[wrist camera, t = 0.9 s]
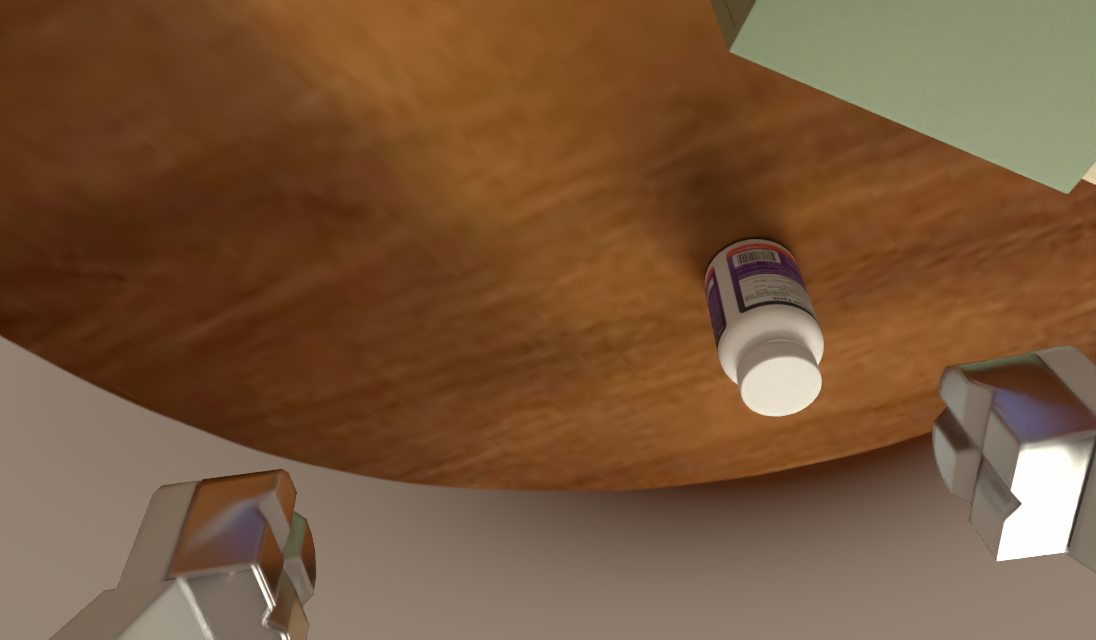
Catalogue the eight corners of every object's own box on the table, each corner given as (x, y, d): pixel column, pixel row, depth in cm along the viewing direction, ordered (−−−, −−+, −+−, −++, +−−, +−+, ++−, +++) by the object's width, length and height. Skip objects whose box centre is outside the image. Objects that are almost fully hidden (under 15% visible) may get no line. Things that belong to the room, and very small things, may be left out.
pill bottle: (752, 327, 55) (781, 442, 48) (684, 283, 54) (702, 396, 46) (818, 267, 53) (860, 379, 45) (748, 219, 51) (779, 327, 43)
